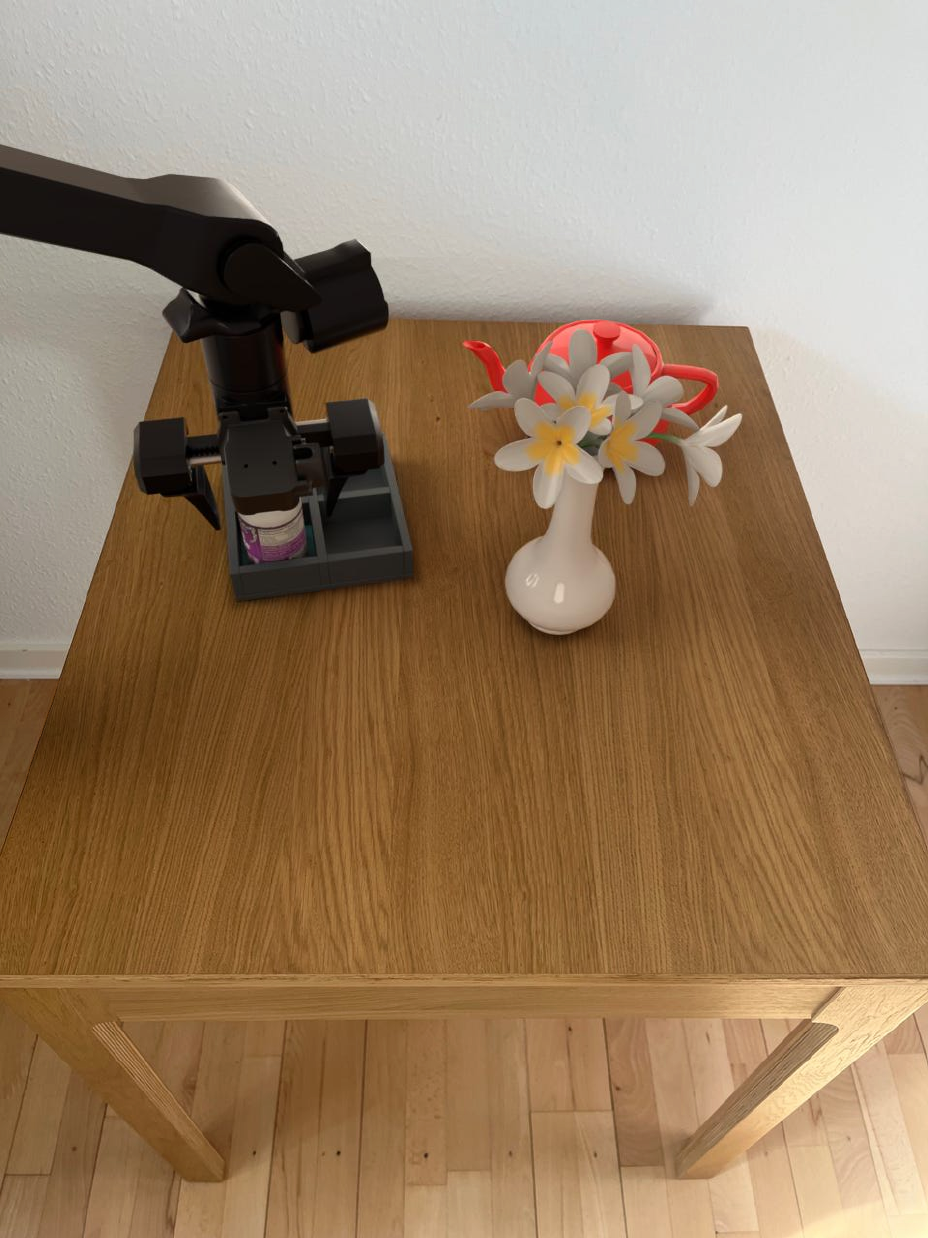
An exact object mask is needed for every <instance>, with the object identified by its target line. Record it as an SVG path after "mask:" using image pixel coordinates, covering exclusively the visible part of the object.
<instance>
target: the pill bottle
mask: <svg viewBox="0 0 928 1238" xmlns="http://www.w3.org/2000/svg"><path fill="white" fill-rule="evenodd" d="M237 513H238V512H237ZM238 517H239V521H240V526H241V531H242V535H243V540H244V544H245V549H246V553H247V557H248V560H249V563H250V564H251V565H253V564H261V563H268V562H276V561H284V560H292V559H300V558H306V557H307V554H308V547H307V540H306V534H305V526H304V518H303V510H302V503H301V497H300V501H299V504H298V505H297V507H295V508H294V509H292V510H289V511H272V512H264V513H257V514H255V515H248V516H247V515H242V514H240V513H238Z"/></svg>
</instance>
